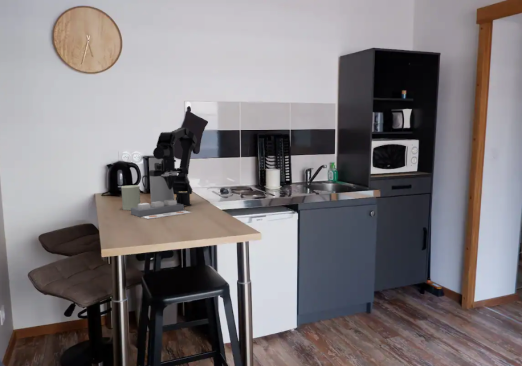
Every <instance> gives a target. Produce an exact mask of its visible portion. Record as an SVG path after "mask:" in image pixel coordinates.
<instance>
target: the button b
mask: <svg viewBox="0 0 522 366" xmlns="http://www.w3.org/2000/svg"><path fill="white" fill-rule="evenodd" d="M164 203H165V205H167V206H171V205H177V201H176V199H174V200H165V201H164Z"/></svg>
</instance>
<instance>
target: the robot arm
mask: <svg viewBox="0 0 522 366" xmlns="http://www.w3.org/2000/svg"><path fill="white" fill-rule="evenodd" d="M177 140H178V141H179V142H180V147H181V150H182V152H181V158H180V164H179V167H176V162H177V160H176V159H175V149H176V146H175V143H176V142H177ZM197 143H198V138H197V136H196V134H195V133H194V132H192V130H190V129H189V128H188V127H179V128H177V129H174V130H172V131H165V132H164V131H162V132H160V134H159V136H158V139H157V143H156V147H155V148H154V149H153V152H152V155H153V158H156V159H163V160H162V161H161V164H159V163H155V164H154V168H155V170H150V172H148V173H149V174H148V175H149V177H150V176H153V177H157V176H161V175H162V176H161V177H163V178H164V180H165V181H166V184H167V186H168V189H169V190H171V189H172V188H173V192H174V195H175V200H176V201H177V203H179V204H183V205H184V207H188V206H192V203H191V195H192V194H193V188H192V186H191V184H190V179H189V176H188V175H189V170H190V169H189V167H190V162H191V156H192V152H193V151H194V150H195V148H196V147H197V146H196V145H197ZM166 171H168V172H166ZM169 174H170V175H169Z"/></svg>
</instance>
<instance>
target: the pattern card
mask: <svg viewBox="0 0 522 366" xmlns="http://www.w3.org/2000/svg"><path fill="white" fill-rule="evenodd" d="M184 214H191V211H187V210H184V211H178V212H171V213H164V214H157V215H150V216H144V217H142V219H146V220H150V219H157V218H165V217H172V216H177V215H184Z"/></svg>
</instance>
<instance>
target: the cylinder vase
mask: <svg viewBox="0 0 522 366" xmlns="http://www.w3.org/2000/svg"><path fill="white" fill-rule="evenodd" d="M162 160H163V159H156V158H155V157H148V167H149V172H150V170H155V168H154V164H155V163H159V164H161V161H162ZM149 172H148V173H149ZM166 172H168V171H166ZM169 175H170V174H169ZM161 176H162V175H161ZM161 176H157V177H153V176H149V189H150V203H151V202H157V201H161V202H164V201H165V200H175V194H174V192H173V188H172V189H171V190H169V189H168V186H167V184H166V181H165V180H164V178H163V177H161ZM164 204H165V203H164Z"/></svg>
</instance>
